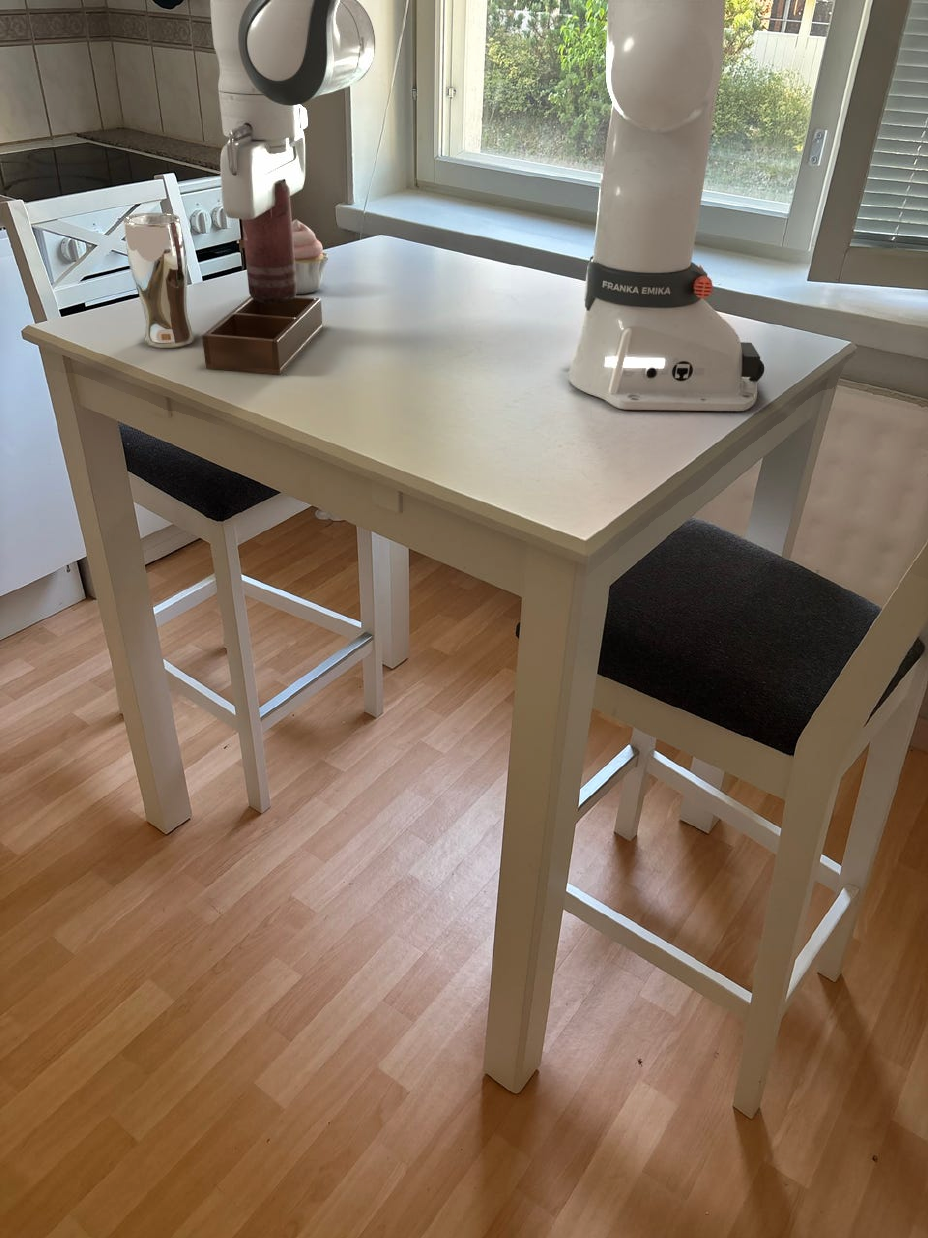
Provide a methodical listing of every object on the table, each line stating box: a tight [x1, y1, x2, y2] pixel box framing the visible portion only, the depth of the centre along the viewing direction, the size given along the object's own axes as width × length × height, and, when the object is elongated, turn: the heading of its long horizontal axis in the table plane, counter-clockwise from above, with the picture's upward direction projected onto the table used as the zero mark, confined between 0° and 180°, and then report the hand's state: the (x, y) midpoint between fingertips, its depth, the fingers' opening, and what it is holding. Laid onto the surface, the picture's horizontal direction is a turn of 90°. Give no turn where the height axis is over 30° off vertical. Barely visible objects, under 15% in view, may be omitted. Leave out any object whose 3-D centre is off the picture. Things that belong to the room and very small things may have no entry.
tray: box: [201, 295, 324, 376], centre depth 121 cm, size 9×18×4 cm, turn 171°
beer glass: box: [122, 212, 195, 349], centre depth 119 cm, size 7×7×15 cm
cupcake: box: [292, 219, 329, 295], centre depth 142 cm, size 9×9×10 cm
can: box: [241, 179, 297, 303], centre depth 119 cm, size 6×6×14 cm
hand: (270, 242), depth 119 cm, fingers closed, pressing on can
